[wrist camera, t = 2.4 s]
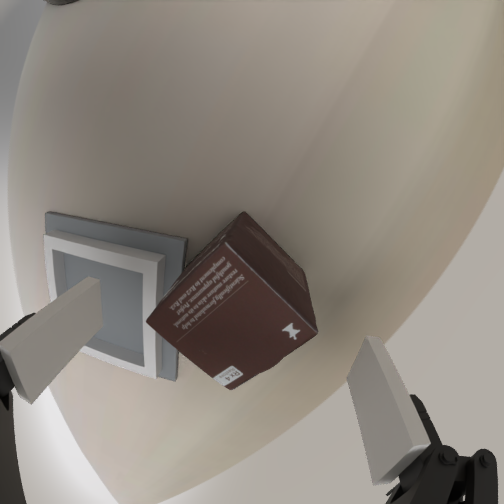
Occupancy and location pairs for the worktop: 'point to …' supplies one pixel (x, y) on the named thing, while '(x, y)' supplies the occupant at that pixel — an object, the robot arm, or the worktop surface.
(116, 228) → the grey and white frame
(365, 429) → the robot arm
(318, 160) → the worktop surface
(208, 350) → the box
